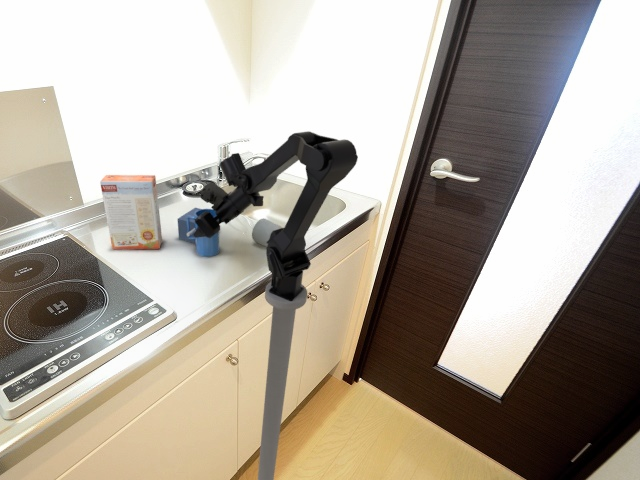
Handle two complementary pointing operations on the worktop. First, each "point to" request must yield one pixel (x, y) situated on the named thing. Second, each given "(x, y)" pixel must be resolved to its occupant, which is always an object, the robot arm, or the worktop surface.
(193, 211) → the slate-blue box
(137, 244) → the cracker box
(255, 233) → the grey cylinder
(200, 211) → the blue mug
